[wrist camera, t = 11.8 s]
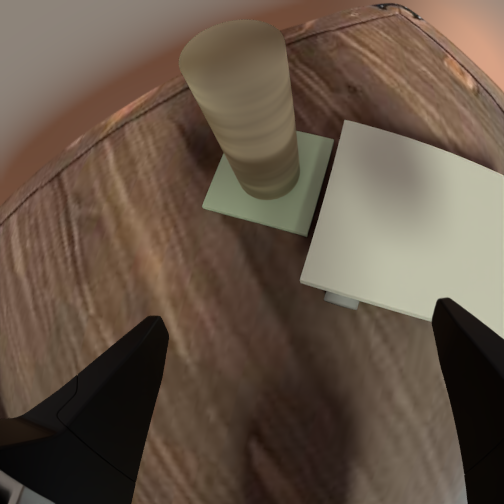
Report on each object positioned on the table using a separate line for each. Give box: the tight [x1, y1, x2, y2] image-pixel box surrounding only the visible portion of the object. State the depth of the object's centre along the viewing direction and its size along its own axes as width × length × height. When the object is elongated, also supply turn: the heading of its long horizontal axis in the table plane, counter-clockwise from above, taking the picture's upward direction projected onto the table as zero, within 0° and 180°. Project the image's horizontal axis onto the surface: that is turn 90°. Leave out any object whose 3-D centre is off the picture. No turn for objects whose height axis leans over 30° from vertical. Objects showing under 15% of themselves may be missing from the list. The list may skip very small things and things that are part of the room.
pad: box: [202, 131, 334, 237], centre depth 25 cm, size 9×9×1 cm
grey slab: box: [300, 120, 504, 339], centre depth 20 cm, size 13×16×4 cm
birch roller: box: [179, 20, 300, 200], centre depth 18 cm, size 5×5×13 cm
